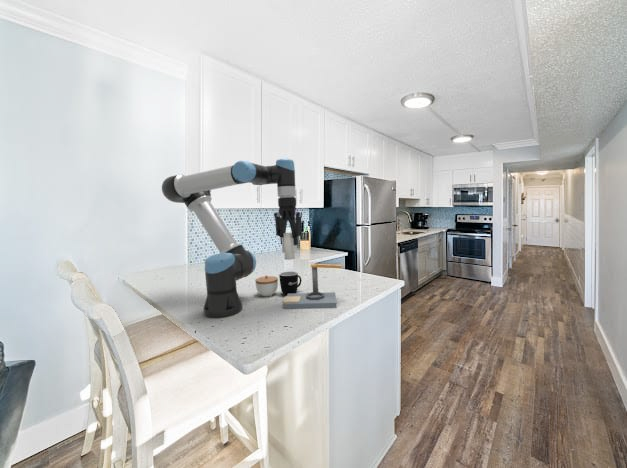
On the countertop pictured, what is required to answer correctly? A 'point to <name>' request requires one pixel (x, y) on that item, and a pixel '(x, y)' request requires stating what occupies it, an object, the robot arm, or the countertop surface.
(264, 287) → the lidded jar
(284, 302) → the grey base with post
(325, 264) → the clip
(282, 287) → the mug
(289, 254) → the white cylinder
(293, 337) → the countertop surface
